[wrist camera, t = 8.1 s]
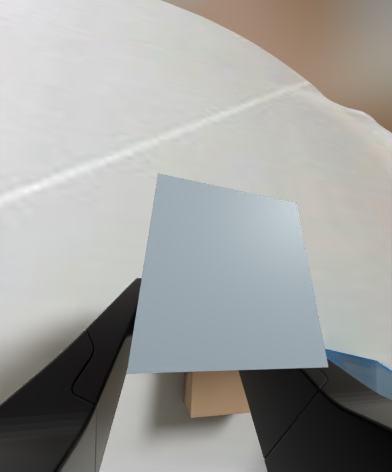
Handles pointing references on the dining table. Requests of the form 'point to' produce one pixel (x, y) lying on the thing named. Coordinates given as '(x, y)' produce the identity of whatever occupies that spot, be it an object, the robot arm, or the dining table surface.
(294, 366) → the slate-blue post
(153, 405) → the dining table surface
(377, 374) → the perfume bottle
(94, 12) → the dining table surface
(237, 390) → the walnut plinth
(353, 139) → the dining table surface
